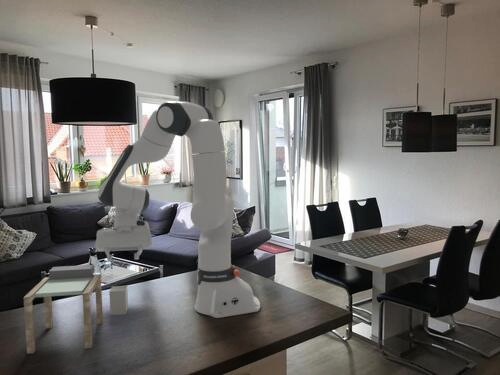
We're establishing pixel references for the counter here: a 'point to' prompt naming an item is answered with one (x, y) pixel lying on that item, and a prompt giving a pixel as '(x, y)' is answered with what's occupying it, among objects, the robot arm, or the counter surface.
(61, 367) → the counter surface
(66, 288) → the trapdoor
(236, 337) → the counter surface
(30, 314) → the frame
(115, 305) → the stone
